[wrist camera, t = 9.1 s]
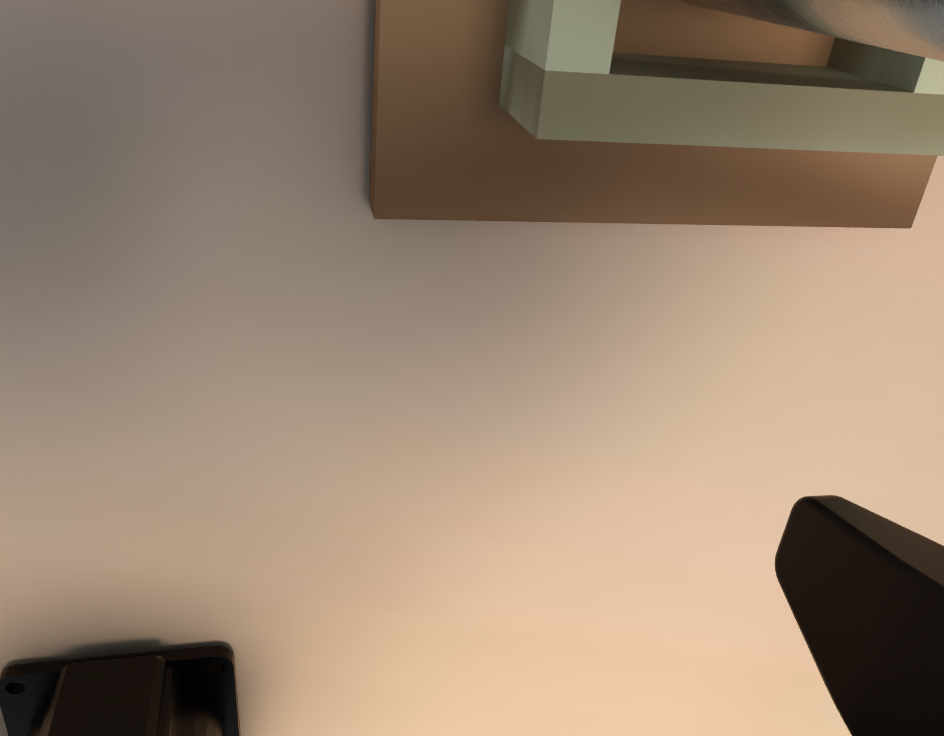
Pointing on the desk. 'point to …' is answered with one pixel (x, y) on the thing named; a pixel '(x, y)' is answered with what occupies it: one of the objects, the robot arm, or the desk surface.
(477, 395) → the desk surface
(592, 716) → the desk surface
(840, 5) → the peg
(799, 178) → the dock board
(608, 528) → the desk surface
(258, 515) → the desk surface
